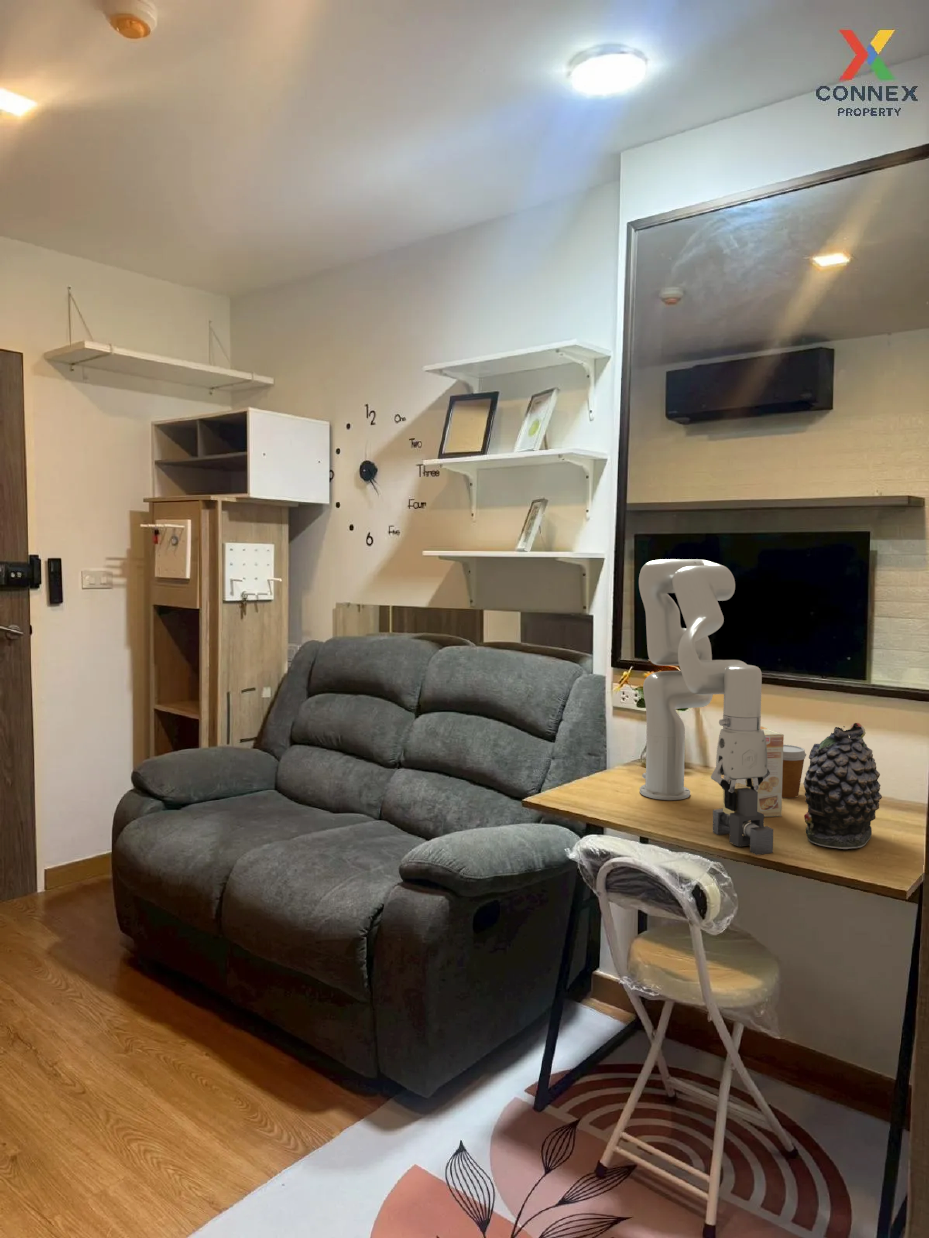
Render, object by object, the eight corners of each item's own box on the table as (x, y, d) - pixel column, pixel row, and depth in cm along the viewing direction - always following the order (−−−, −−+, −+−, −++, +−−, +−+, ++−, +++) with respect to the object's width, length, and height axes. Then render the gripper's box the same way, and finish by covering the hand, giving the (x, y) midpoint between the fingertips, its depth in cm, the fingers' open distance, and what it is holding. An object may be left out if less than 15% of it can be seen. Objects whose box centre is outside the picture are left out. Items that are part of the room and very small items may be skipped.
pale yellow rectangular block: (734, 816, 175) (734, 788, 175) (723, 811, 179) (723, 784, 178) (750, 814, 176) (750, 787, 176) (738, 810, 180) (738, 782, 180)
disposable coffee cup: (809, 800, 206) (810, 753, 206) (769, 798, 208) (770, 751, 207) (800, 790, 216) (801, 744, 215) (762, 788, 217) (763, 743, 216)
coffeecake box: (782, 816, 194) (785, 734, 192) (754, 817, 193) (756, 735, 191) (751, 798, 208) (753, 721, 207) (725, 799, 207) (726, 722, 206)
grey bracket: (729, 841, 175) (730, 789, 174) (754, 838, 177) (755, 787, 176) (738, 846, 172) (739, 793, 171) (763, 843, 174) (764, 791, 173)
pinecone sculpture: (814, 820, 191) (817, 713, 189) (886, 832, 182) (890, 720, 181) (791, 845, 174) (794, 728, 172) (869, 860, 165) (874, 736, 164)
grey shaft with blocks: (712, 832, 183) (713, 809, 182) (728, 830, 184) (728, 807, 183) (756, 854, 168) (756, 830, 168) (772, 852, 170) (773, 828, 169)
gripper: (718, 729, 169) (716, 817, 170) (786, 724, 174) (784, 809, 175) (697, 722, 176) (695, 806, 177) (763, 717, 181) (761, 799, 183)
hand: (739, 807), depth 176 cm, fingers closed on pale yellow rectangular block, 4 cm apart
